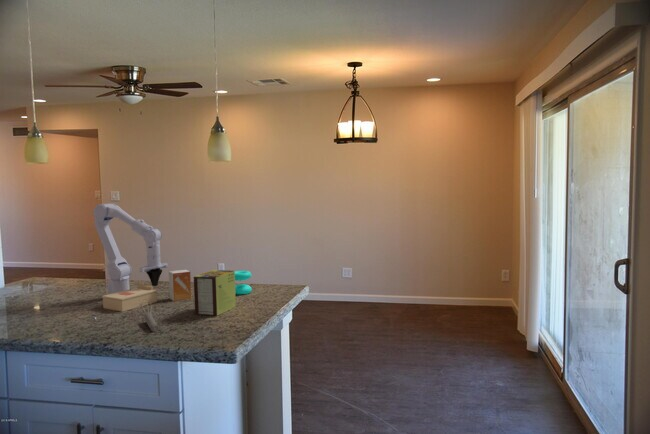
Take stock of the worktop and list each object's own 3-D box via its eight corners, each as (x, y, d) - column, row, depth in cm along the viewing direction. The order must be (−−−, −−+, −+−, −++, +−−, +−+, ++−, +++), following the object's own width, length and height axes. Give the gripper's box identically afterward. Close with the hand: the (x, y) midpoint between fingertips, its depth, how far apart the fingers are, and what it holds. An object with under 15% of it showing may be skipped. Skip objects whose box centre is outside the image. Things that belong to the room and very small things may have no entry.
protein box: (236, 306, 214) (235, 270, 213) (217, 316, 199) (215, 277, 198) (214, 305, 217) (213, 269, 216) (194, 314, 203) (192, 276, 202)
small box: (173, 302, 223) (172, 273, 222) (169, 299, 228) (168, 271, 227) (191, 299, 227) (190, 271, 226) (187, 297, 233) (186, 269, 232)
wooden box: (103, 309, 213) (102, 297, 212) (138, 300, 228) (137, 289, 228) (122, 312, 207) (122, 300, 206) (157, 303, 222) (156, 291, 222)
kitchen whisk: (147, 335, 177) (146, 317, 176) (133, 314, 206) (132, 298, 206) (165, 332, 179) (164, 315, 179) (149, 312, 209) (148, 296, 209)
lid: (102, 297, 212) (101, 292, 212) (137, 288, 228) (137, 284, 228) (121, 300, 206) (121, 295, 206) (157, 291, 222) (157, 286, 222)
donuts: (232, 270, 244) (252, 270, 244) (232, 290, 245) (253, 290, 245) (227, 274, 234) (249, 273, 234) (228, 295, 235) (249, 295, 235)
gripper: (146, 258, 219) (148, 289, 221) (172, 254, 232) (173, 283, 233) (135, 257, 223) (137, 288, 224) (161, 253, 236) (162, 282, 237)
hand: (154, 285), depth 229 cm, fingers closed
